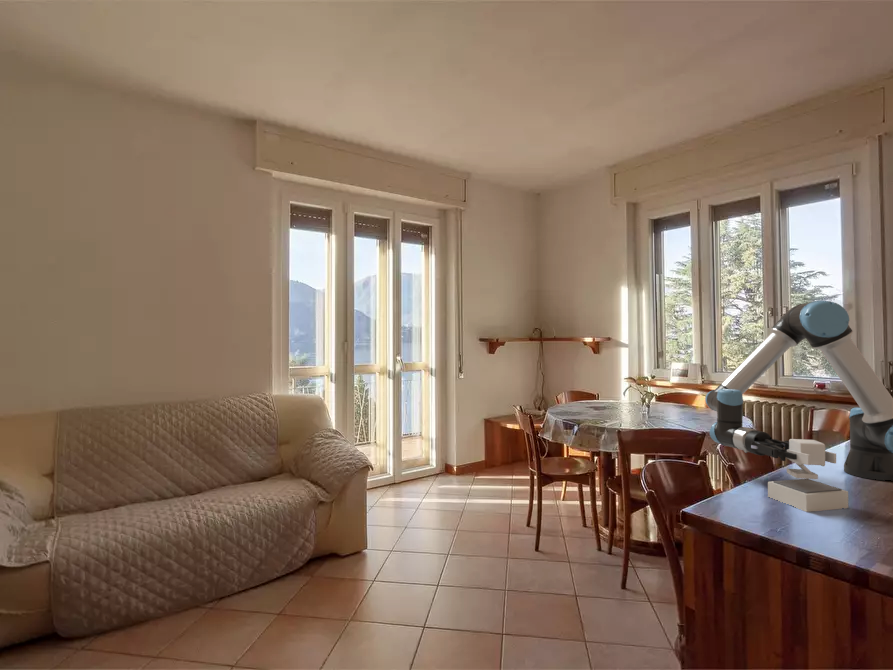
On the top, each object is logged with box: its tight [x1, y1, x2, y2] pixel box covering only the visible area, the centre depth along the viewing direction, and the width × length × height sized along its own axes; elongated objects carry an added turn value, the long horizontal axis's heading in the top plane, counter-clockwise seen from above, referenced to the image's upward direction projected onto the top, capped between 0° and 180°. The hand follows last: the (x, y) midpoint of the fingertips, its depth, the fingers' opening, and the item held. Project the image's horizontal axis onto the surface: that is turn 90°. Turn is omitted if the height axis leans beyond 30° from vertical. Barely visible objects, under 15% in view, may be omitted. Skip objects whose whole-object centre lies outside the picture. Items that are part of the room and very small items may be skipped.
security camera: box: [786, 438, 826, 480], centre depth 135 cm, size 6×7×10 cm
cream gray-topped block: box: [767, 478, 849, 513], centre depth 135 cm, size 14×12×5 cm
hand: (822, 459), depth 131 cm, fingers closed on security camera, 8 cm apart
